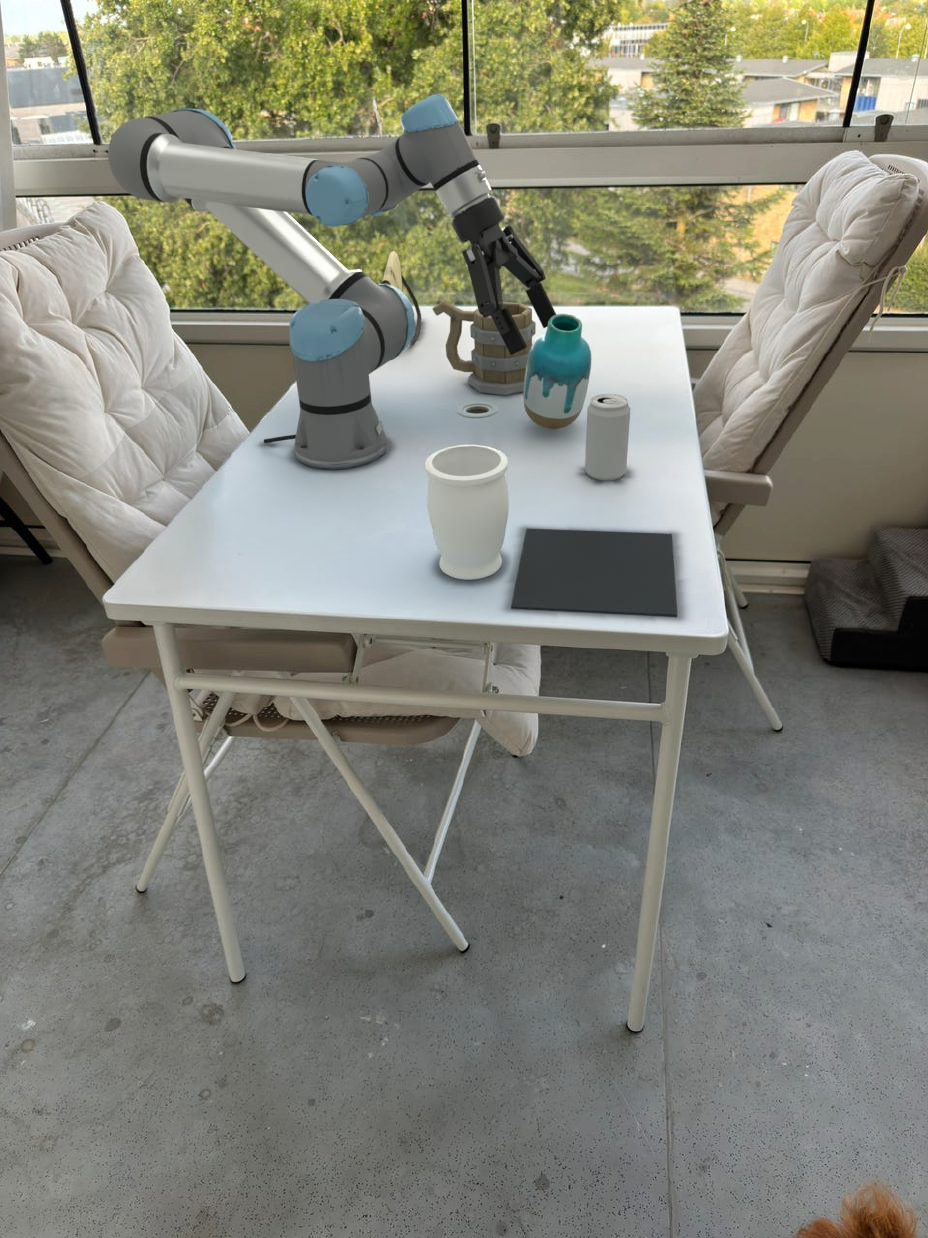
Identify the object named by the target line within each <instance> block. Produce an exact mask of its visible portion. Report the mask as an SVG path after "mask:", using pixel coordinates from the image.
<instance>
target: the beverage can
mask: <svg viewBox="0 0 928 1238" xmlns="http://www.w3.org/2000/svg"><path fill="white" fill-rule="evenodd" d="M630 420H631V407H630V405H629V399H628V398H627V397H626V396H623V395H621V394H616V393H602V394H597V395H594V396H592V397H591V398H590V400H589V404H588V406H587V408H586V432H585V433H586V434H585V455H584V457H585V459H584V471H585V473H586V474H587V475H589V476H590V477H591V478H593V479H594V480H598V481H604V482H605V481H607V482H609V481H615V480H618V479H620V478H621V477H622V476H623V475H624V474H626V473H627V468H628V467H627V466H628V465H627V464H628V453H629V452H628V449H629V435H630V422H631V421H630Z"/></svg>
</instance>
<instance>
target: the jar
mask: <svg viewBox="0 0 928 1238" xmlns="http://www.w3.org/2000/svg"><path fill="white" fill-rule="evenodd" d="M508 460H509V459H508V457H507V455H506V454H505V453H504V452H503V451H501V450H499V449H497V448H494V447H492V446H487V445H480V444H460V445H459V444H457V445H452V446H448V447H444V448H442V449H439V450H437V451H435V452H433V453H431V454H430V455H429V456H428V457H427V458H426V460H425V463H424V466H425V472H426V475H427V477H429V480H428V485H427V500H426V501H427V514H428V520H429V523H430V526H431V530H432V535H433V540H434V543H435V545H436V549H437V550H438V552H439V554H440V558H439V561H438V562H439V563H438V564H439V568H440V569H441V571H442V572H443V573H444V574H445V575H447V576H449V577H451V578H455V579H458V580H466V581H468V580H469V581H470V580H480V579H484V578H487V577H489V576H491V575H493V574H495V573H496V572H498V570H499V569H501V567H502V564H503V558H502V555H501V554H500V551H501V550H502V547H503V545H504V541H505V538H506V532H507V524H508V519H509V511H510V509H509V508H510V496H509V487H508V482H507V477H506V475H505V474H506V473H507V470H508V468H509V461H508Z"/></svg>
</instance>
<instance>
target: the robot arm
mask: <svg viewBox="0 0 928 1238" xmlns="http://www.w3.org/2000/svg"><path fill="white" fill-rule="evenodd" d="M400 124H401V127H402V130H403V133H402V134H401V135H400V136H399V137H398V138H397V139H395V140H394V141H392V142H391V143H390V144H387V146H385V147H384V148H382V149H381V150H379V151H377V152H375V153H370V154H368V155H364V156H361V157H358V158H355V159H351V160H348V161H332V160H322V159H318V158H317V159H316V158H308V157H300V156H294V155H293V156H291V155H283V154H276V153H268V152H260V151H251V150H244V149H237V148H236V144H234V143H233V139H234V138H233V137H234V136H233V135H232V133H231V132H230V130H229V128H228V127H227V125H225V123H224V122H223V121H222V120H221V119H220V118H219V117H218V116H216V115H215V114H213V113H212V112H209V111H207V110H204V109H201V108H178V109H175V110H172V111H169V112H167V113H166V112H165V113H160V114H155V115H149V116H142V117H135V118H131V119H130V120H127V121H125V122H124V123H122V124H121V125H119V126H118V128H116V129H115V131H114V132H113V134H112V136H111V137H110V140H109V144H108V149H107V158H108V159H107V160H108V164H109V169H110V171H111V173H112V176H113V177H114V179H115V180H116V182H117V183H118V185H119V186H120V187H121V188H122V189H123V190H124V191H125V192H127V193H128V194H129V195H132V196H133V197H135V198H138V199H140V200H145V201H153V202H161V203H166V204H174V203H175V204H176V203H177V202H179V201H181V200H184V201H185V202H186V203H187V204H188V205H189V206H190V207H191V208H192V209H193V210H194V211H196V212H197V213H211V214H212V215H213V216H214V217H215V218H216V219H217V221H220V223H221V224H223V225H224V226H225V227H226V228H227V229H228V230H229V231H230V232H231V233H232V234H233V235H234V236H236V238H238V239H239V240H240V241H241V243H243V244H244V245H245V246H246V247H247V248H248V249H249V250H250V251H251V252H253V254H254V255H256V256H257V258H259V259H260V260H261V261H262V262H263V263H264V264H265V265H266V266H267V267H268V268H269V269H271V271H272V272H274V273H275V274H276V275H277V276H278V277H279V278H280V279H281V280H282V281H283V282H285V283H286V284H287V285H288V286H289V287H290V289H292V290H293V291H294V292H295V293H296V294H297V295H299V297H301V298H302V299H303V300H304V301H305V303H307V304H306V305H305V306H302V307H301V308H299V309H298V310H297V311H295V313H294V314H293V315H292V316H291V318H290V319H289V325H288V328H289V341H288V342H289V343H288V344H289V347H290V351H291V356H292V362H293V369H294V377H295V382H296V389H297V396H298V402H299V417H298V422H297V429H296V433H295V434H289V435H288V434H287V435H283V436H282V435H281V436H276V437H269V438H265V439H263V443H264V444H269V443H274V442H275V443H276V442H282V441H288V440H294V452H295V457H296V459H297V460H298V461H299V462H300V463H302V464H303V465H306V466H308V467H310V468H315V469H321V470H343V469H351V468H357V467H360V466H364V465H367V464H370V463H371V462H375V461H376V460H378V459H379V458H380V457H382V456H383V455H384V454H385V453H386V451H387V448H388V444H387V443H388V442H387V437H386V432H385V430H384V425H383V422H382V421H381V420H380V418H379V417H378V414H377V411H376V410H375V408H374V405H373V403H372V392H371V382H370V374H371V373H373V372H375V371H376V370H378V369H380V368H381V367H383V366H384V365H385V364H387V363H388V362H391V361H393V360H395V359H396V358H398V357H399V356H400V355H401V354H402V352H403V351H405V350H406V349H407V348H408V347H409V346H410V344H411V343H412V342H411V341H412V339H413V336H414V334H415V332H416V319H415V311H414V308H413V305H412V303H411V302H410V300H409V298H408V297H407V295H406V294H405V293H404V291H403V292H402V291H400V290H399V289H398V288H396V287H394V286H392V285H386V284H381V283H378V284H376V282H375V281H373V279H372V278H370V277H369V276H368V275H367V274H366V273H365V272H364V271H363V270H362V269H347V268H346V267H345V266H344V265H343V264H342V263H341V262H340V261H338V259H337V258H335V257H334V255H333V254H331V253H330V252H329V251H328V250H327V249H326V248H325V247H324V246H323V245H322V244H321V243H320V242H318V240H317V239H315V238H314V237H313V236H312V234H310V233H309V232H308V231H307V230H306V229H305V228H304V227H303V226H302V225H301V224H299V222H297V221H296V220H295V219H294V218H293V217H292V216H291V215H290V214H297V215H303V216H310V217H313V218H315V220H317V221H318V222H319V223H321V224H322V225H324V226H327V227H331V228H335V227H336V228H337V227H341V226H349V225H351V224H354V223H355V222H357V221H358V220H361V219H363V218H365V217H367V216H372V217H378V216H381V215H383V214H385V213H387V212H389V211H390V210H394V209H395V208H397V206H398V205H399V204H400V203H401V202H403V201H405V200H406V199H407V198H409V197H410V196H412V195H413V194H415V193H416V192H418V191H419V190H420V189H422V188H423V187H425V186H427V185H429V184H430V185H431V186H432V188H433V190H434V192H435V194H436V196H437V198H438V200H439V202H440V204H441V206H442V208H443V210H444V212H445V215H446V216H447V217H451V218H452V220H451V226H452V228H453V230H454V232H455V234H456V236H457V238H458V240H459V242H460V243H462V244H465V243H467V242H469V244H470V246H468V247H467V248H465V249H463V250H462V251H461V254H462V256H463V259H464V261H465V263H466V266H467V269H468V273H469V277H470V282H471V286H472V289H473V294H474V298H475V301H476V306H477V308H478V310H479V313H480V314H481V315H483V317H484V318H487V317H489V316H491V317H492V319H493V321H494V323H495V325H496V327H497V329H498V331H499V333H500V335H501V337H502V339H503V341H504V343H505V345H506V347H507V349H508V351H509V353H510V355H513V354H515V353H517V352H519V351H521V350H523V349H525V348H526V347H527V345H526V343H525V341H524V339H523V337H522V335H521V333H520V331H519V329H518V327H517V325H516V323H515V321H514V319H513V317H512V315H511V313H510V311H509V309H508V307H506V308H504V309H503V302H504V300H503V291H502V283H501V273H500V271H501V269H502V268H505V269H506V270H507V271H508V272H509V273H511V274H512V275H513V276H514V277H515V278H516V279H517V280H518V281H520V282H521V284H523V285H524V287H526V288H527V289H526V290H525V293H526V295H527V298H528V299H529V302H530V303H531V306H532V308H533V310H534V311H535V314H536V316H537V317H538V320H539V322H540V324H541V326H542V328H543V329H547V326H548V322H549V319H550V318H551V317H552V316H554V315H557V313H556V311H555V309H554V307H553V305H552V301H550V299H549V296H548V294H547V293H546V290H545V288H544V285H543V283H542V282H543V281H545V280H546V278H547V277H546V274H545V272H544V269H543V268H542V267H541V265H540V264H539V263H538V261H537V260H536V259H535V258H534V257H533V255H532V254H531V252H530V251H529V250H528V249H527V247H526V246H525V245H524V243H523V242H522V241H521V240H520V238H519V237H518V235H517V234H516V231H515V230H514V228H513V226H512V225H511V224H508V225H506V226H504V227H502V228H501V226H500V223H502V222H503V221H504V220H505V214H504V212H503V210H502V208H501V206H500V203H499V201H498V199H497V197H495V196H493V195H492V196H490V194H491V193H492V188H491V186H490V183H489V182H488V180H487V178H486V177H487V173H486V171H484V170H483V169H482V167H481V165H480V163H479V160H478V159H477V157H476V154H475V153H474V150H473V149H472V146H471V144H470V142H469V140H468V137H467V136H466V134H465V131H464V128H463V127H462V125H461V120H460V119H459V118H458V117H457V115H456V113H455V111H454V109H453V107H452V105H451V104H450V102H449V100H448V99H447V97H446V96H445V95H443V94H442V93H441V94H440V93H436V94H432V95H430V96H427V97H425V98H423V99H422V100H420V101H418V102H417V103H415V104H414V105H412V106H411V107H409V108H408V109H407V110H406V111H405V112H403V114H402V115H401V116H400Z"/></svg>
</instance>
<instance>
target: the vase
mask: <svg viewBox="0 0 928 1238" xmlns="http://www.w3.org/2000/svg"><path fill="white" fill-rule="evenodd" d="M582 331H583V323H582V320H581V319H580V318H579V317H577V316H575V315H573V314H571V313H570V314H569V313H556V315H554V316H552V317H551V318H550V319H549V322H548V326H547V327H546V331H545V332H544V333H542V334H540V335H538V336H537V337H536V338H535V339H534V340H533V341H532V346H531V349H530V352H529V356H528V360H527V366H526V372H525V380H524V392H523V406H524V410H525V413H526V415H527V416H528V418H529V419H530V420H531V421H532V422H533V423H534V424H535V425H538V426H539V427H542V428H545V429H550V430H559V429H563V428H566V427H568V426H571V424H573V423H574V422H575V421H576V420H577V419H578V418H579V416H580V414H581V413H582V410H583V408H584V404H585V401H586V398H587V393H588V388H589V383H590V376H591V370H592V350H591V347H590V344H589V343H588V342H587V341H586V340H585V339H584V338H583V337H582V333H583V332H582Z"/></svg>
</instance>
